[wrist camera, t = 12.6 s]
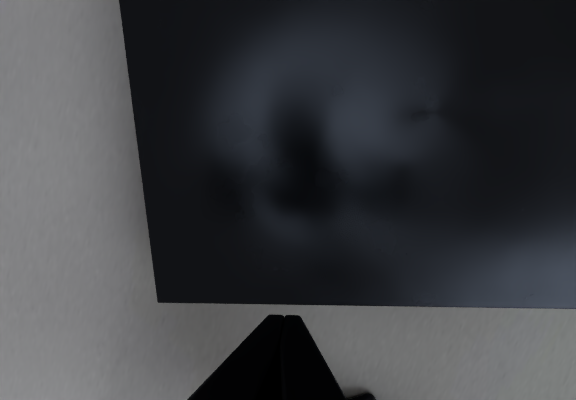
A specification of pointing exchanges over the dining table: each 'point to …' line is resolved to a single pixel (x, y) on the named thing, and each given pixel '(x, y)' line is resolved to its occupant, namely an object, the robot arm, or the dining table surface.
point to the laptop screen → (357, 150)
